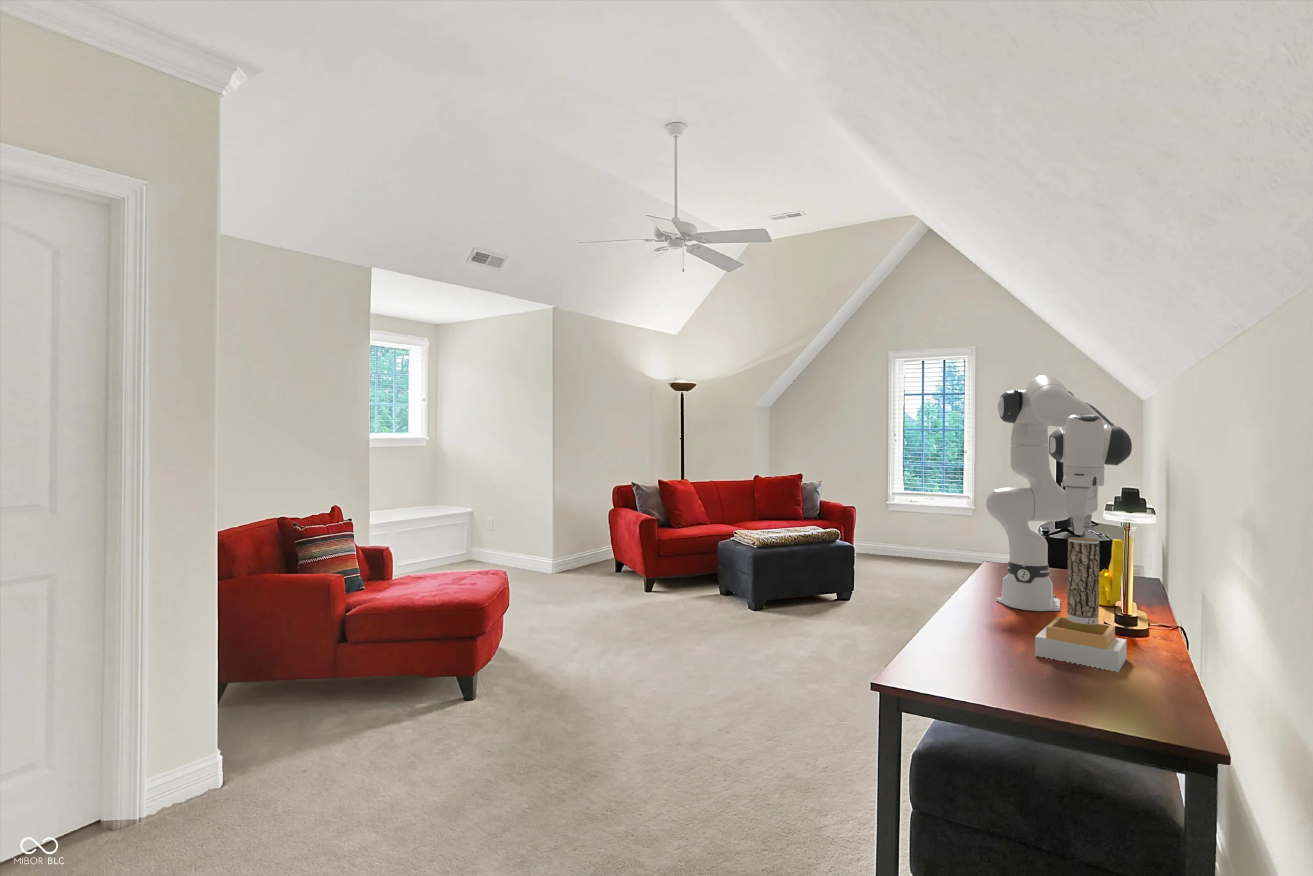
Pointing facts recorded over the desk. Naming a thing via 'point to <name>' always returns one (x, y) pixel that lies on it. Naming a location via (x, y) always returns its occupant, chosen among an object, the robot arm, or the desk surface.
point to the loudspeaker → (1081, 645)
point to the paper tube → (1083, 585)
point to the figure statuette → (1111, 577)
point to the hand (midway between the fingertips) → (1082, 532)
